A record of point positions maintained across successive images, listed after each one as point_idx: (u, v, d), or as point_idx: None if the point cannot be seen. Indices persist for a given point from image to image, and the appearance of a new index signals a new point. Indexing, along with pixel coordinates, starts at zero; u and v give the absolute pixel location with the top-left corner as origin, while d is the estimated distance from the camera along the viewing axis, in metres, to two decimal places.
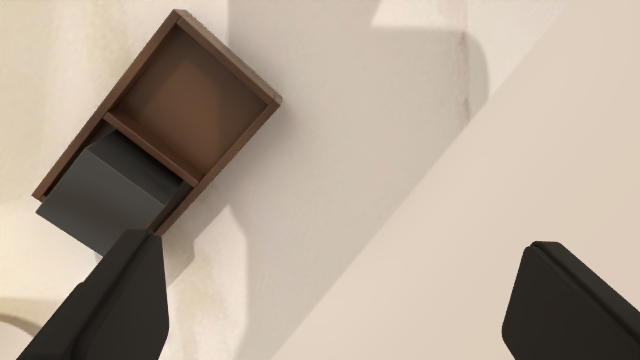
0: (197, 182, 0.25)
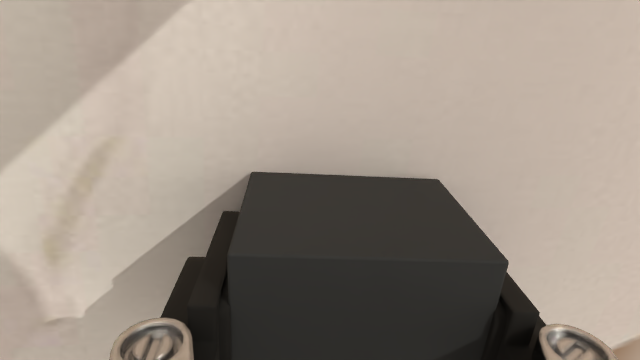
0: None
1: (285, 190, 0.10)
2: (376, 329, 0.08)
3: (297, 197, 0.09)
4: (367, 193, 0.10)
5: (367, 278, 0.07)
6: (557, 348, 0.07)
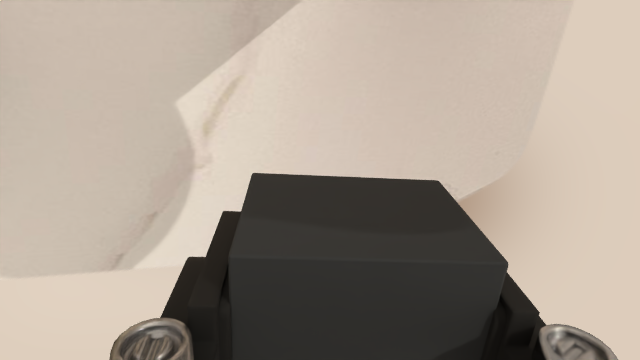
0: None
1: (285, 191, 0.10)
2: (376, 330, 0.08)
3: (298, 198, 0.09)
4: (368, 194, 0.10)
5: (368, 279, 0.07)
6: (557, 348, 0.07)
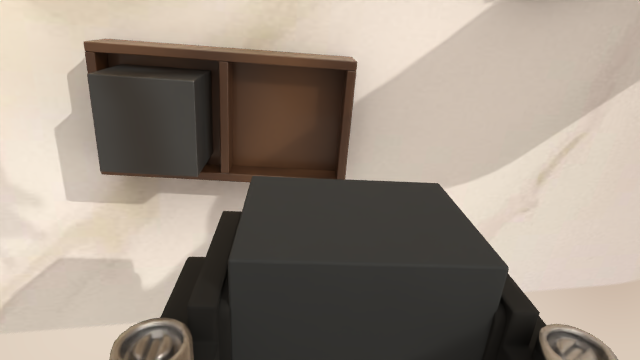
0: (227, 172, 0.24)
1: (285, 195, 0.10)
2: (376, 335, 0.08)
3: (298, 202, 0.09)
4: (368, 197, 0.10)
5: (368, 283, 0.07)
6: (557, 348, 0.07)
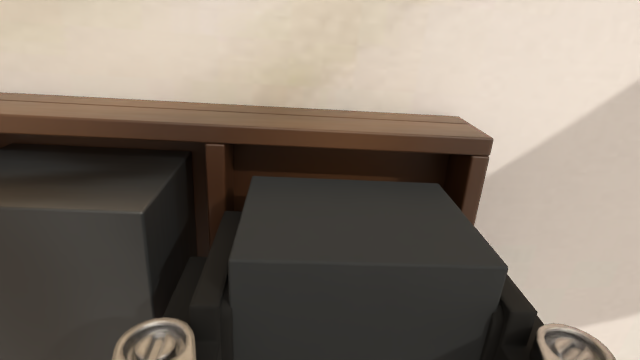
0: None
1: (285, 195, 0.10)
2: (376, 334, 0.08)
3: (297, 202, 0.09)
4: (367, 197, 0.10)
5: (368, 283, 0.07)
6: (555, 348, 0.07)
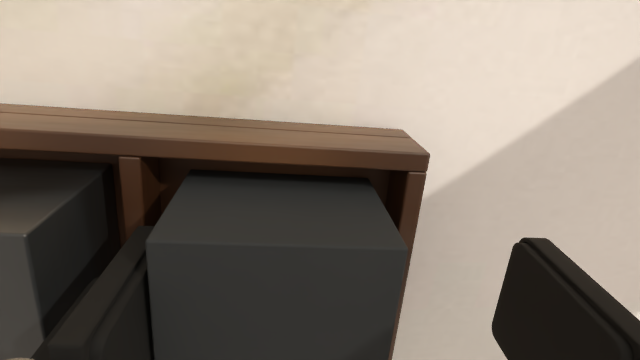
0: None
1: (218, 186, 0.10)
2: (290, 312, 0.08)
3: (227, 192, 0.10)
4: (296, 189, 0.10)
5: (278, 263, 0.08)
6: None
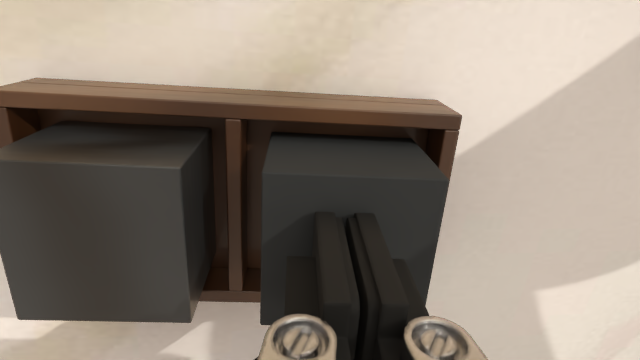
0: (240, 289, 0.15)
1: (297, 142, 0.13)
2: None
3: (306, 146, 0.13)
4: (357, 144, 0.13)
5: (354, 190, 0.11)
6: (422, 345, 0.07)
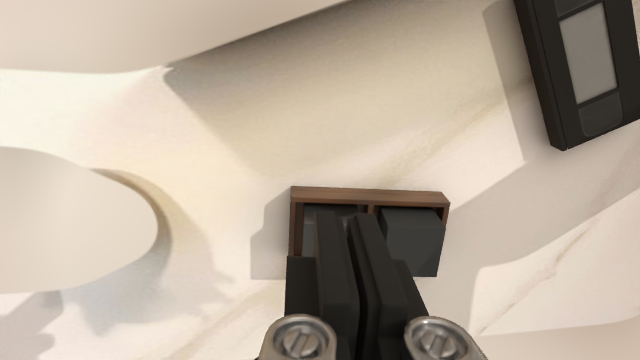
0: None
1: (391, 211, 0.37)
2: (417, 243, 0.35)
3: (395, 213, 0.37)
4: (412, 212, 0.37)
5: (416, 231, 0.35)
6: (422, 345, 0.07)
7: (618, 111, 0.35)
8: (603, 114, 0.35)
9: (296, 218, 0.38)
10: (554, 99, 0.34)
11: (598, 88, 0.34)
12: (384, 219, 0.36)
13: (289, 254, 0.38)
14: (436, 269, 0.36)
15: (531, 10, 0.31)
